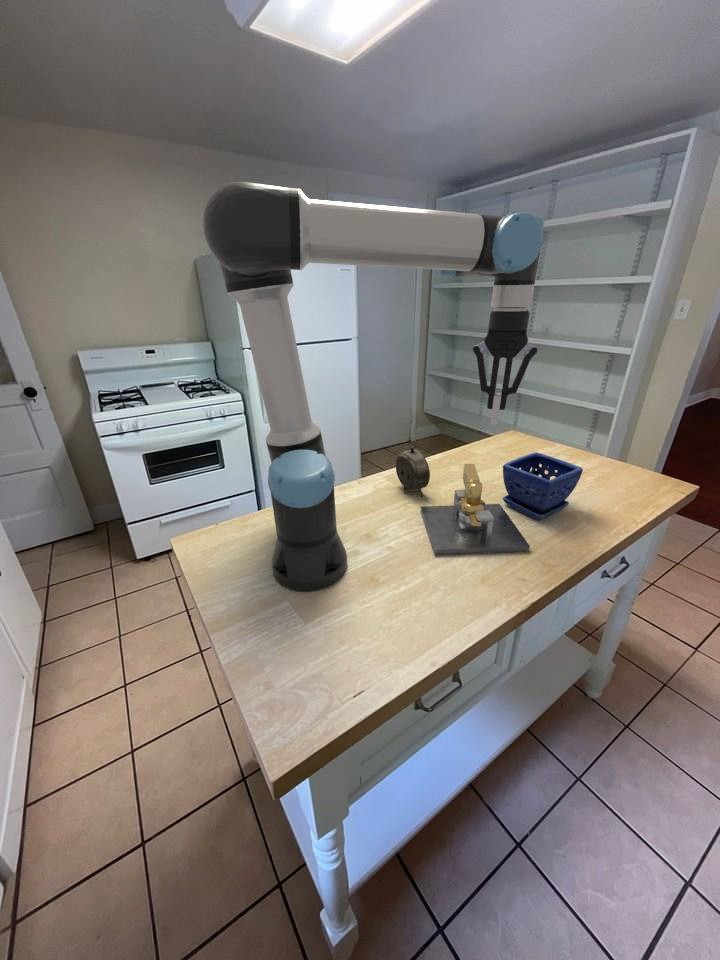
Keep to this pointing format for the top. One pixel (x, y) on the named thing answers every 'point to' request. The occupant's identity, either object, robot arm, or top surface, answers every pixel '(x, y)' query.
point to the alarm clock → (412, 469)
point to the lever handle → (472, 494)
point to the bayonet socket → (471, 530)
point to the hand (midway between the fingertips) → (493, 423)
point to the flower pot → (539, 484)
